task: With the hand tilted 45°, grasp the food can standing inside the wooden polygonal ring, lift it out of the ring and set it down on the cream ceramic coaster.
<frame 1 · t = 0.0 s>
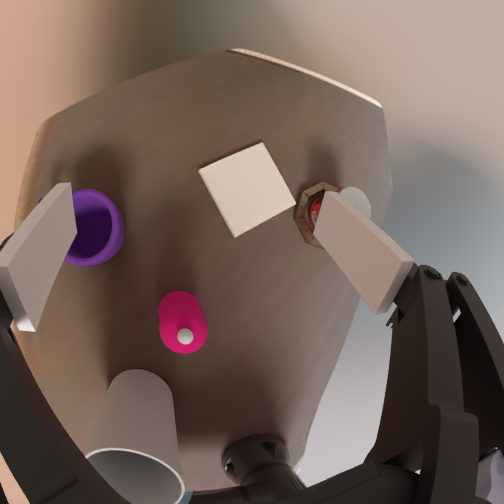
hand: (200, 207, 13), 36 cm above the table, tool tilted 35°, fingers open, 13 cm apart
canned food: (323, 216, 56), resting in wooden polygonal ring
cylinder vase: (140, 396, 44), on the table
pepper mill: (178, 308, 47), on the table
coaster: (248, 188, 52), on the table
mug: (86, 226, 43), on the table
wooden polygonal ring: (323, 216, 56), on the table
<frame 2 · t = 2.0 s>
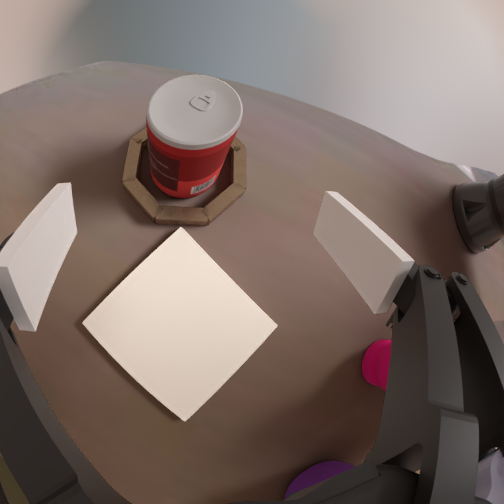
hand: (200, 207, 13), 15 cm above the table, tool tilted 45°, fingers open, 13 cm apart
canned food: (184, 169, 29), resting in wooden polygonal ring
pepper mill: (377, 362, 32), on the table
coaster: (179, 327, 26), on the table
mug: (311, 499, 25), on the table
wooden polygonal ring: (185, 168, 29), on the table
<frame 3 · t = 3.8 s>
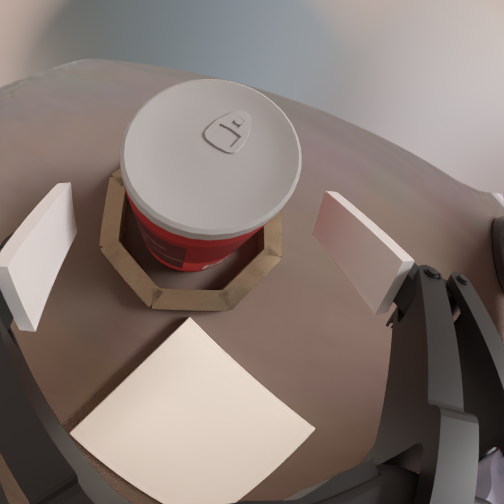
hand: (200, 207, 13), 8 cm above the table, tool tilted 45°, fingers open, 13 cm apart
canned food: (191, 222, 21), resting in wooden polygonal ring
coaster: (193, 438, 17), on the table
wooden polygonal ring: (191, 221, 21), on the table
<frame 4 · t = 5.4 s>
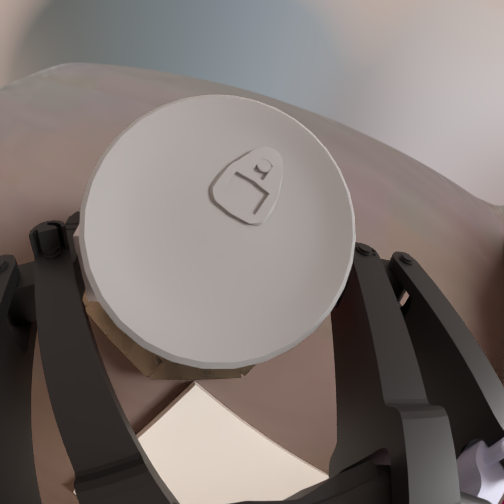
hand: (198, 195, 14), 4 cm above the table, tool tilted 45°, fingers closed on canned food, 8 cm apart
canned food: (192, 269, 17), resting in wooden polygonal ring, touching gripper
coaster: (204, 495, 14), on the table
wooden polygonal ring: (193, 268, 17), on the table
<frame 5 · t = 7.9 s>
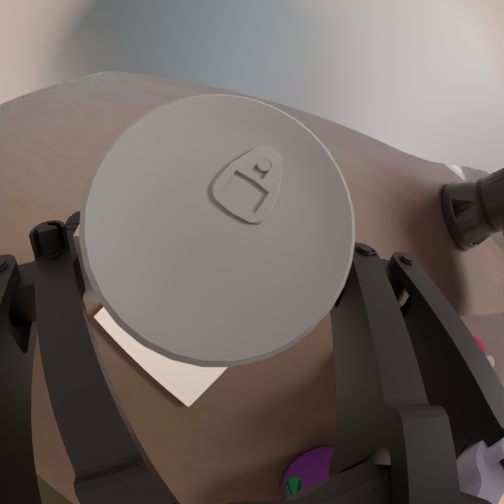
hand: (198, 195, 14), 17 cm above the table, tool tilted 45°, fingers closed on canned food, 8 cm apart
canned food: (192, 268, 17), point 13 cm above the table, touching gripper
cylinder vase: (440, 350, 40), on the table
coaster: (183, 319, 29), on the table
mug: (308, 485, 28), on the table
when the fingers open (5 cm above the table, at t = 10.7 s): canned food stays where it is, resting on coaster.
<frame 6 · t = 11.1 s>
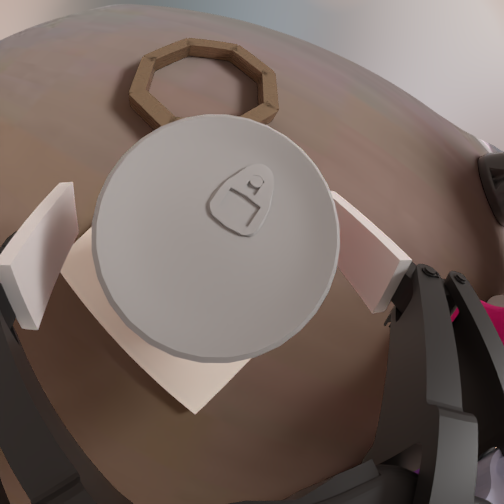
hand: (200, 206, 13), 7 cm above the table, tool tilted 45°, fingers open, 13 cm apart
canned food: (192, 272, 18), point 1 cm above the table, touching coaster
cylinder vase: (489, 335, 30), on the table
pepper mill: (428, 332, 25), on the table
coaster: (190, 272, 19), on the table
wooden polygonal ring: (204, 89, 22), on the table
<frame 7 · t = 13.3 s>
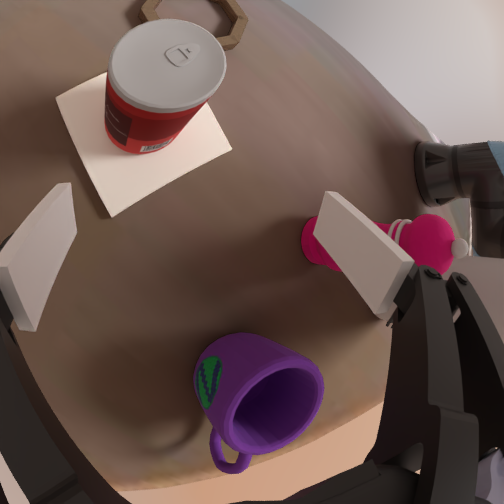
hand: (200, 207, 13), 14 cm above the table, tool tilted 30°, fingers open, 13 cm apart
canned food: (143, 120, 23), point 1 cm above the table, touching coaster
cylinder vase: (386, 284, 45), on the table
pepper mill: (317, 239, 36), on the table
coaster: (141, 122, 24), on the table
mug: (222, 389, 30), on the table
wooden polygonal ring: (193, 18, 24), on the table
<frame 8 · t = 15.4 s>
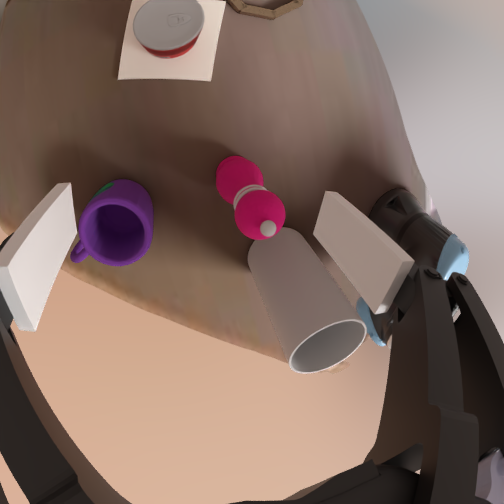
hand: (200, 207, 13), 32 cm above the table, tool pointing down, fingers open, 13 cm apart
canned food: (170, 36, 29), point 1 cm above the table, touching coaster
cylinder vase: (276, 251, 57), on the table
pepper mill: (234, 172, 45), on the table
coaster: (170, 37, 30), on the table
mug: (111, 214, 43), on the table
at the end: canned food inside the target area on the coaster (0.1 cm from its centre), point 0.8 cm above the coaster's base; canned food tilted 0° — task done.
